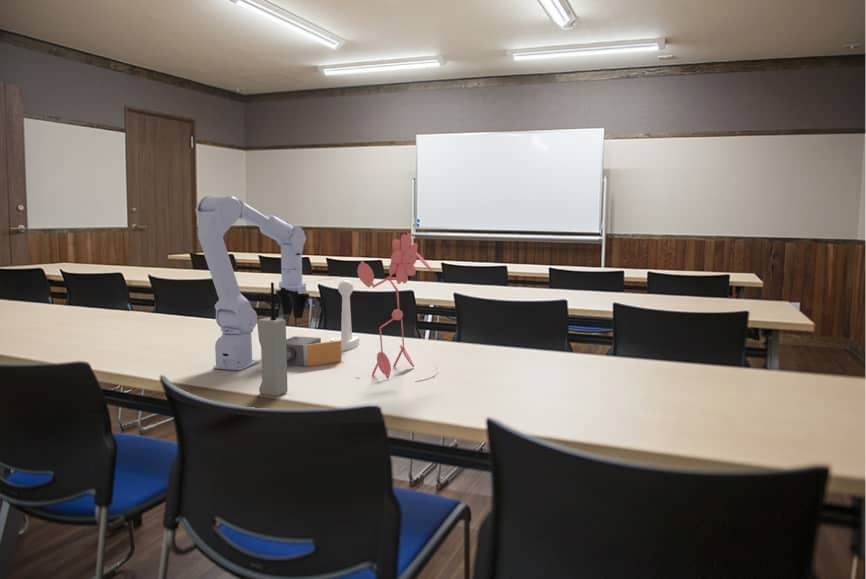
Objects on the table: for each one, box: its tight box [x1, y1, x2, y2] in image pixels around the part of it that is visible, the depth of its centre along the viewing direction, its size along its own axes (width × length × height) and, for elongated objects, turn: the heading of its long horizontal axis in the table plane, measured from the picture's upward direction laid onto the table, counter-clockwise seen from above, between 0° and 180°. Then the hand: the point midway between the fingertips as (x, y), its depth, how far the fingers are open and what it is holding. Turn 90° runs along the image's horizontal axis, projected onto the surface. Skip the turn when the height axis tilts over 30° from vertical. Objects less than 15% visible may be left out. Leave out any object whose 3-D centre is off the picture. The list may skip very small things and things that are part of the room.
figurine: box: [355, 233, 439, 383], centre depth 158 cm, size 15×26×35 cm, turn 148°
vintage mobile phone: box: [256, 281, 289, 397], centre depth 142 cm, size 4×5×25 cm
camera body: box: [286, 335, 322, 367], centre depth 173 cm, size 12×8×6 cm
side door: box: [303, 341, 342, 368], centre depth 170 cm, size 10×1×6 cm, turn 124°
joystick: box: [329, 279, 360, 352], centre depth 189 cm, size 11×8×20 cm
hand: (292, 316), depth 184 cm, fingers open, 7 cm apart
